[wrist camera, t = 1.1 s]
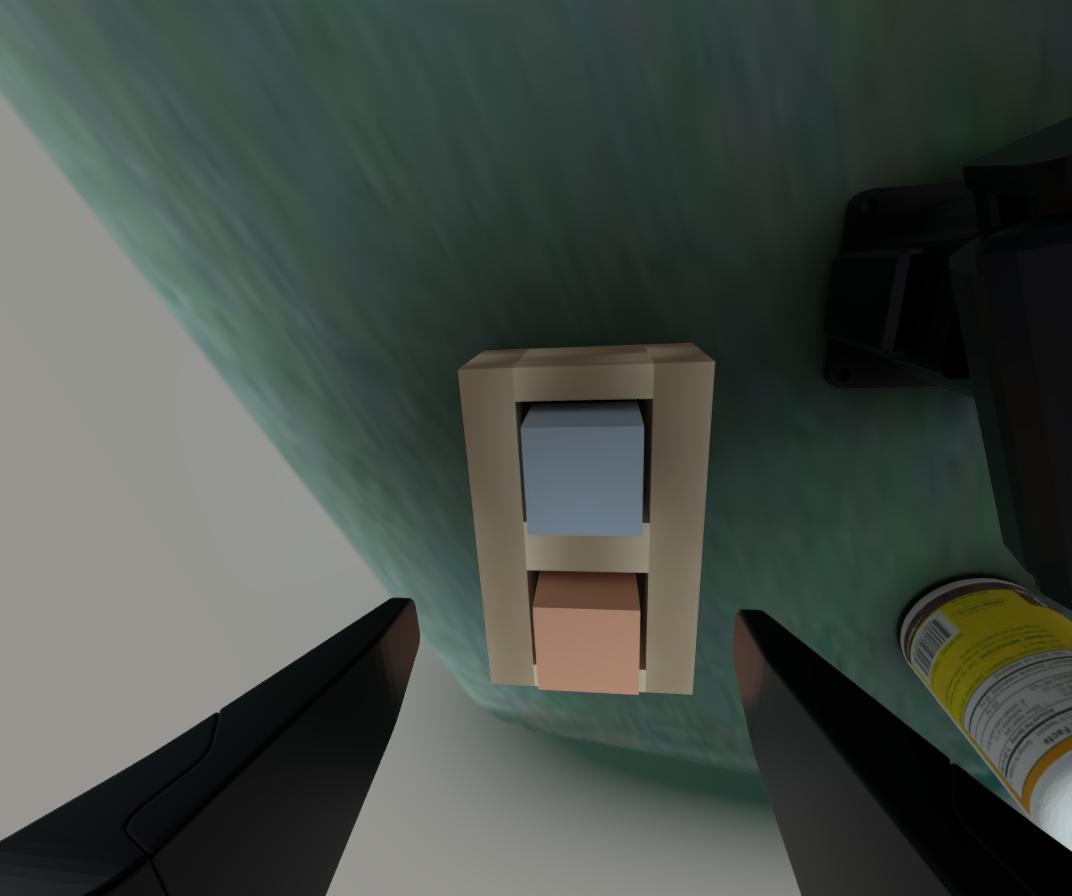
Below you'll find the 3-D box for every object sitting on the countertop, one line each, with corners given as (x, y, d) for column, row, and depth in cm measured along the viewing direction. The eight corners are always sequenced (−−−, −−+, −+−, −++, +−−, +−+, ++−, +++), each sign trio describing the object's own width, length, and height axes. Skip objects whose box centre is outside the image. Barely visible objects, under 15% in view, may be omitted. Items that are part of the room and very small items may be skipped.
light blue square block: (637, 401, 17) (644, 426, 14) (635, 497, 18) (642, 536, 15) (532, 403, 17) (520, 428, 15) (537, 497, 19) (527, 534, 16)
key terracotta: (634, 563, 19) (640, 610, 16) (633, 639, 20) (638, 694, 18) (541, 561, 19) (532, 607, 17) (545, 635, 21) (537, 689, 18)
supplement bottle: (1053, 652, 21) (1422, 965, 12) (915, 691, 23) (1143, 997, 13) (1019, 550, 20) (1405, 810, 10) (875, 598, 21) (1097, 865, 12)
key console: (691, 342, 19) (714, 361, 15) (677, 625, 23) (692, 694, 19) (484, 350, 20) (457, 369, 16) (508, 619, 24) (491, 683, 20)
